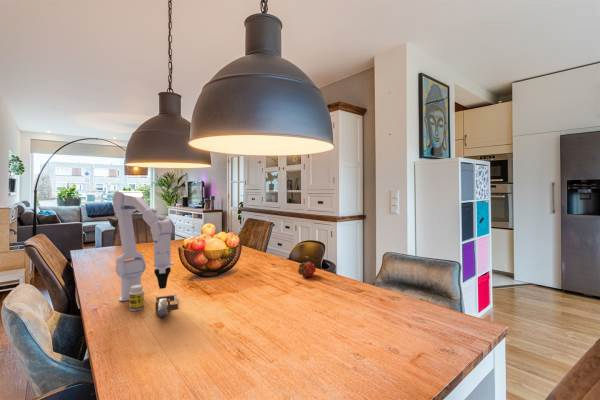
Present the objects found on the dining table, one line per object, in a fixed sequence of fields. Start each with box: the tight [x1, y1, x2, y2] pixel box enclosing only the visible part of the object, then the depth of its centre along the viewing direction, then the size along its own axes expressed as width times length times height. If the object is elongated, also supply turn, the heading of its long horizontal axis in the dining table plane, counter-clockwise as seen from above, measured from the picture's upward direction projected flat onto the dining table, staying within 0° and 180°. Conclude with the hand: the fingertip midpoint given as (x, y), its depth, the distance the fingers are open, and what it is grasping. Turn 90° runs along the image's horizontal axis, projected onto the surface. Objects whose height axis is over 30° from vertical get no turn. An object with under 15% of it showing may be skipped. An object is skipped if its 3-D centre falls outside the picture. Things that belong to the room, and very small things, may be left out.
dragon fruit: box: [297, 261, 317, 278], centre depth 157 cm, size 8×8×12 cm
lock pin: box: [156, 298, 169, 320], centre depth 106 cm, size 13×3×3 cm, turn 24°
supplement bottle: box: [128, 284, 145, 312], centre depth 113 cm, size 5×5×8 cm
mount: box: [154, 294, 179, 315], centre depth 116 cm, size 14×8×4 cm, turn 24°
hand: (162, 288), depth 114 cm, fingers closed
